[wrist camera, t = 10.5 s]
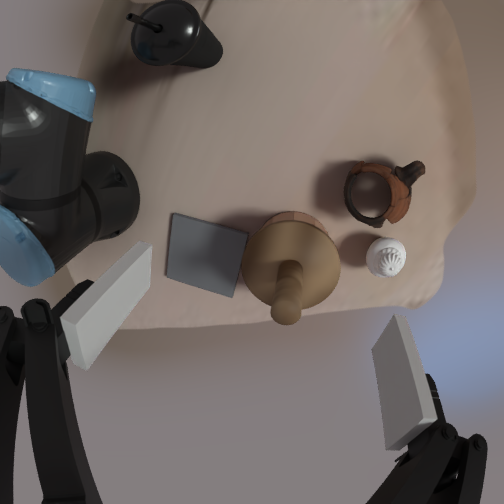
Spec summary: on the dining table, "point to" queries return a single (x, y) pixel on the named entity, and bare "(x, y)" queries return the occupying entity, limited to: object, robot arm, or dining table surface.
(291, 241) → the walnut lid
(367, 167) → the pottery mug
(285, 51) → the dining table surface
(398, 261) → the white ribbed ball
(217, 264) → the grey mat
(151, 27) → the drinking cup
